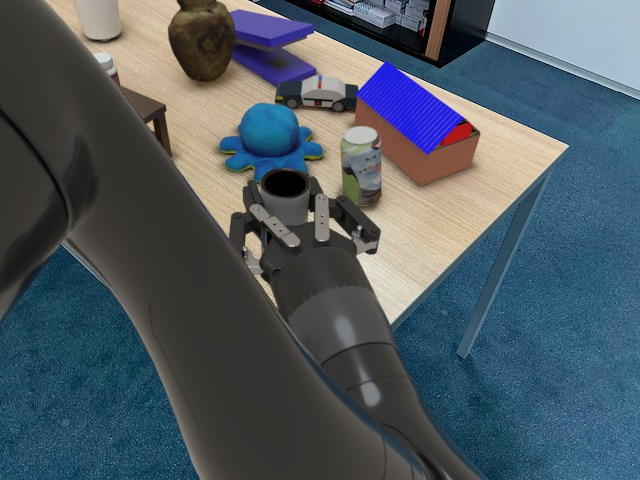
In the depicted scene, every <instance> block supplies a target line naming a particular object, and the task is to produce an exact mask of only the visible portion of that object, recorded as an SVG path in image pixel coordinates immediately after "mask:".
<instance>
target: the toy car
mask: <svg viewBox="0 0 640 480" xmlns="http://www.w3.org/2000/svg"><path fill="white" fill-rule="evenodd" d="M359 90H360V89H359V85H358V84H351V83H345V82H344V81H343V80H342V79H340V78H339V77H335V76H330V75H321V74H319V75H313V76H310V77H308V78H306V79H304V80H300V81H288V82H280V84H279V86H277V87H276V90H275V95H274V96H275V97H274V103H275V104H278V105H285V106H286V107H288V108H290V109H291V110H294V109H297V108H298V106H309V107H322V108H324V107H325V108H331V109H332V111H334V112H335V113H341V112H342V111H344V109H356V105H357V95H355V94H356V93H357V92H358V91H359Z"/></svg>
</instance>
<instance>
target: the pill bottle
mask: <svg viewBox="0 0 640 480" xmlns="http://www.w3.org/2000/svg"><path fill="white" fill-rule="evenodd" d="M92 54H93V55H94V57H95V58H96V59H97V60H98V62H99V63H100V64H101V65H102V66H103V68H104V69H105V70H106V71H107V73H108V74H109V75H110V76H111V78H112V79H113V80H114V81H115V83H116V84H118V85H121V81H120V76H119V72H118V67H117V66H116V64H114V59H113V56H112V54H110V53H108V52H103V51H102V52H95V53H92Z"/></svg>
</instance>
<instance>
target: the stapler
mask: <svg viewBox="0 0 640 480" xmlns="http://www.w3.org/2000/svg"><path fill="white" fill-rule="evenodd" d="M229 13H230V14H231V15H232V18H233V21H234V26H235V45H234V50H233V54H232V58H231V59H233V60H234V61H236V62H237V63H239V64H241V65H242V66H243V67H245V68H246V69H248V70H250V71H251V72H253V73H254V74H255V75H258V76H259V77H260V78H262V79H264V80H265V81H267V82H268V83H270V84H271V85H273V86H274V87H276V88H277V86H279V84H280V82H288V81H304V80H306V79H309V78H311V77H313V76H316V75H317V70H318V69H317V67H315V66H313V65H312V64H311V63H308V62H307V61H305V60H304V59H301V58H300V57H299V56H297V55H295V54H294V53H292V52H291V51H288V50H286V49H285V48H283V47H286V46H290V45H292V44H295V43H298V42H301V41H303V40H306V39H308V36H310V35H313V34H315V25H314V24H313V23H308V22H303V21H298V20H294V19H293V20H292V19H288V18H283V17H279V16H274V15H269V14H265V13H259V12H254V11H251V10H245V9H240V8H237V9H234V10H232V11H229Z"/></svg>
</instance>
